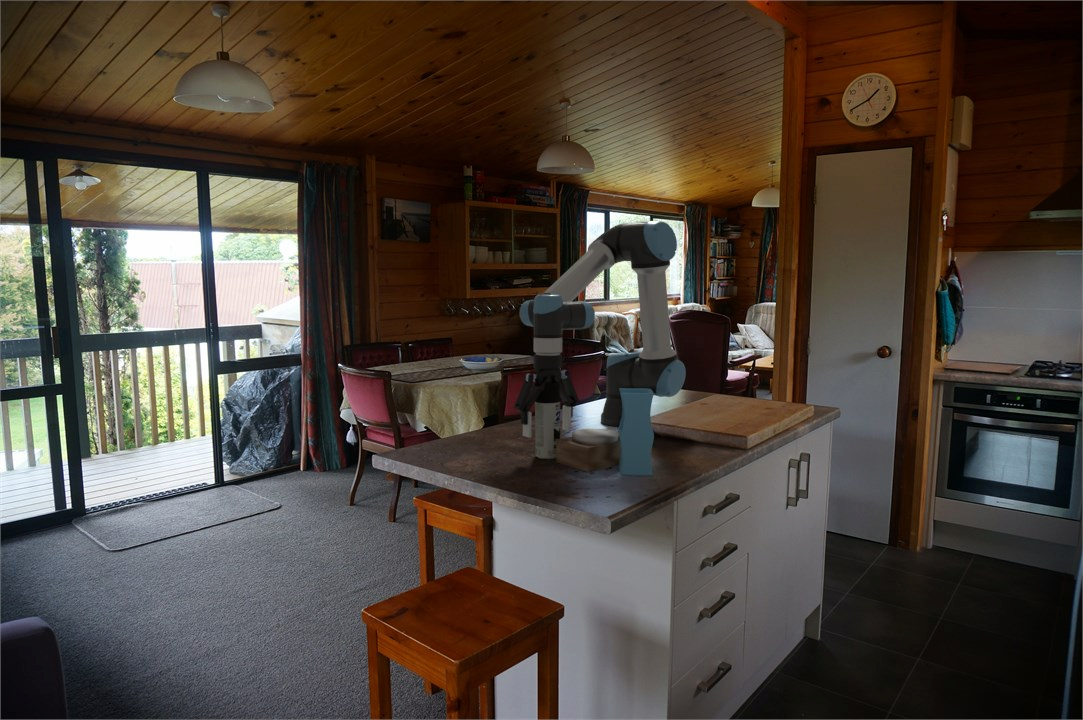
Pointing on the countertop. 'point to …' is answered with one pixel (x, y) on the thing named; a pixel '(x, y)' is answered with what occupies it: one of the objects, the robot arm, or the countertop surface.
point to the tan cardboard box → (589, 449)
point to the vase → (636, 432)
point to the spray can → (547, 421)
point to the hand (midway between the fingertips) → (547, 433)
